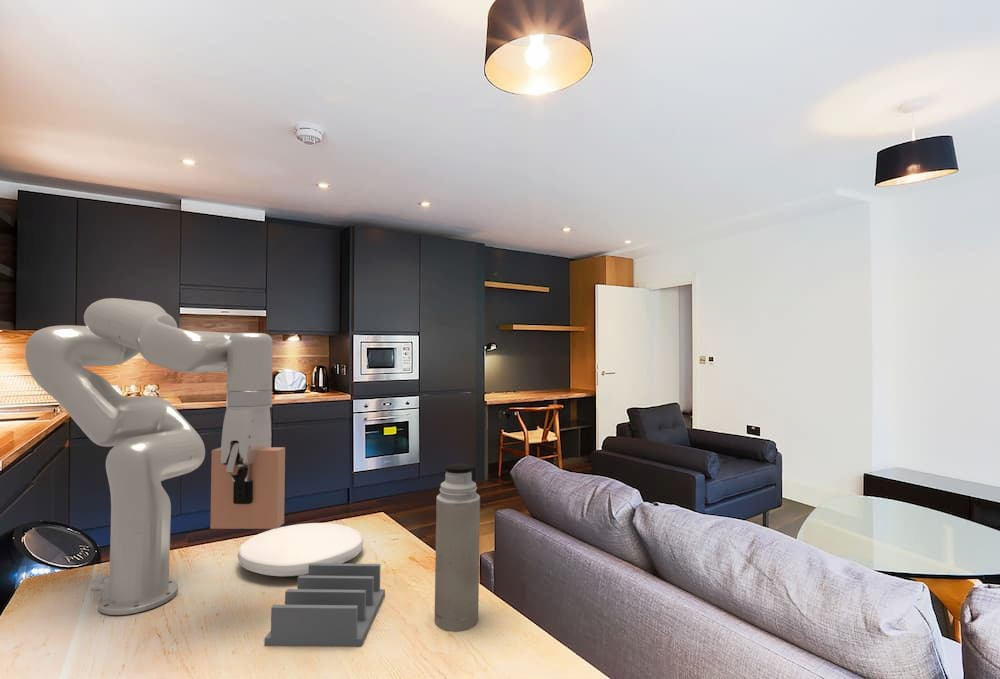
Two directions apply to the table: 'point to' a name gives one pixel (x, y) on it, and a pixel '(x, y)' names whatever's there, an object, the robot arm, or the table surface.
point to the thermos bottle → (457, 550)
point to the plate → (299, 548)
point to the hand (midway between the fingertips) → (248, 499)
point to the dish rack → (328, 607)
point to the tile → (266, 493)
